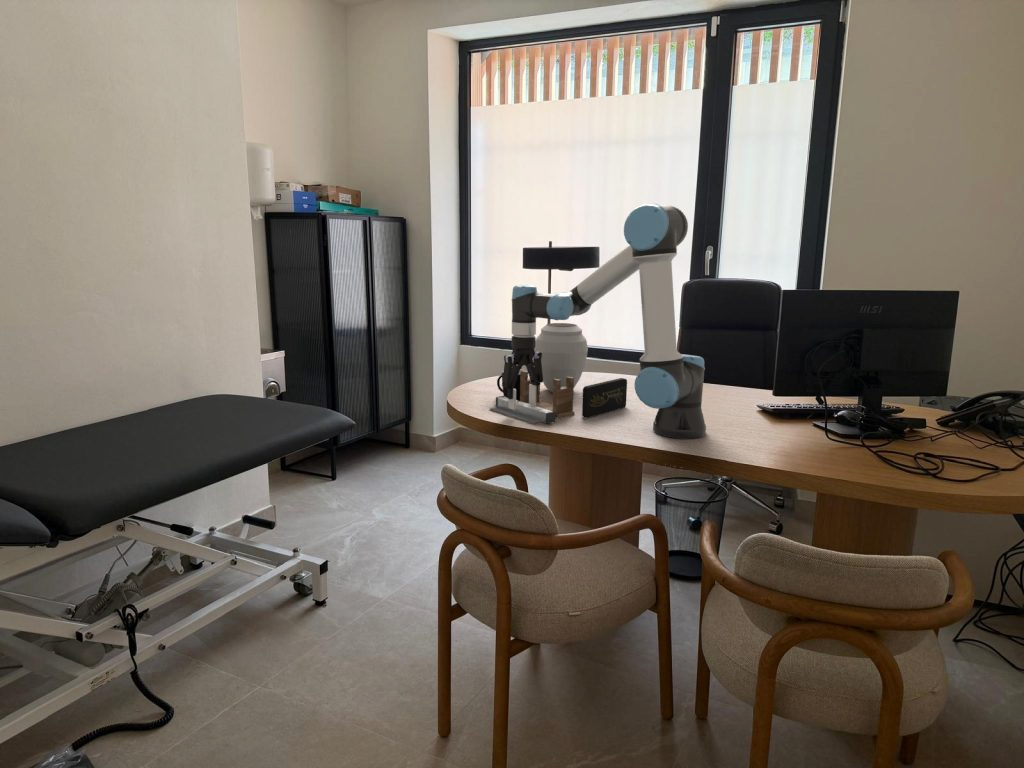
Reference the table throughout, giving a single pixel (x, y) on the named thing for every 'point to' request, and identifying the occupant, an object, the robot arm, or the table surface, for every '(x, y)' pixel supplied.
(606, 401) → the nameplate
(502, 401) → the rail
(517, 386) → the mug
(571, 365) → the vase
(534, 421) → the mat
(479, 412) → the table surface
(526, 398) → the rack
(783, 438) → the table surface
